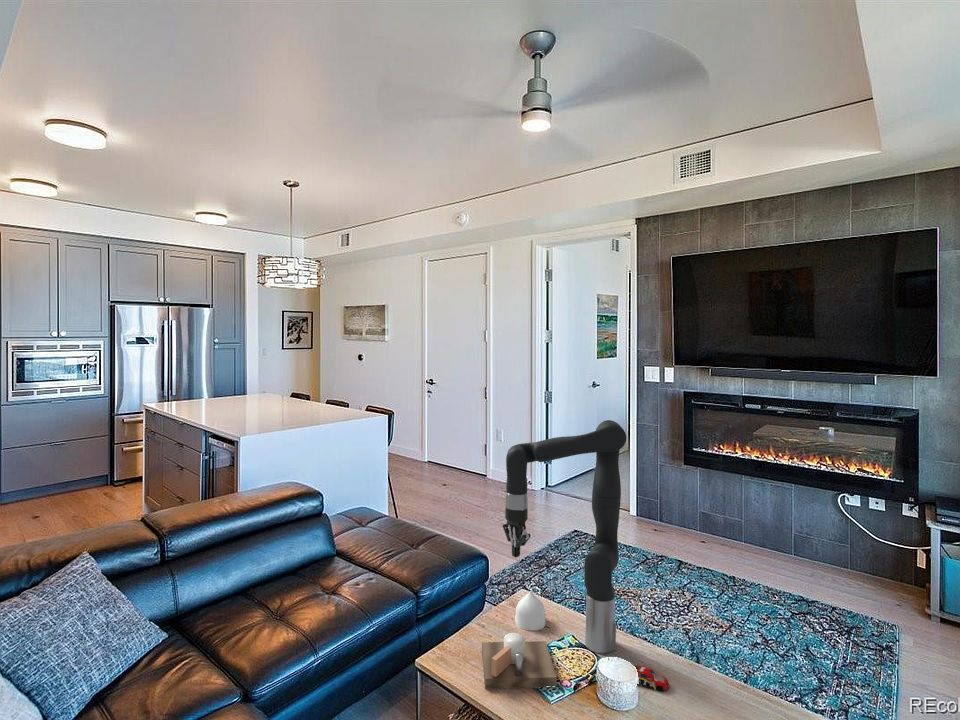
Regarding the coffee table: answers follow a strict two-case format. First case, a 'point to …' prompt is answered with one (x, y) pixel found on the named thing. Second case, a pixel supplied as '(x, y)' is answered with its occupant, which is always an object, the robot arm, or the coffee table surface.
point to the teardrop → (530, 613)
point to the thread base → (529, 667)
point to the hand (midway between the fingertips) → (515, 556)
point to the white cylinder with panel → (508, 653)
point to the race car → (651, 679)
